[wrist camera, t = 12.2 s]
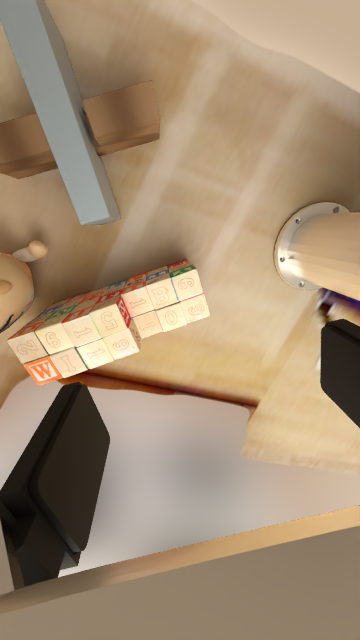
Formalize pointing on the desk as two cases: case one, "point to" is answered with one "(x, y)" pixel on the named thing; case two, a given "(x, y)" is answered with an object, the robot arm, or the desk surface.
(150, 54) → the desk surface
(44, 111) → the blue board
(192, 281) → the stack of blocks
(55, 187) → the desk surface
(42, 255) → the kitten
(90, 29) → the desk surface
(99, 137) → the brown wooden block
